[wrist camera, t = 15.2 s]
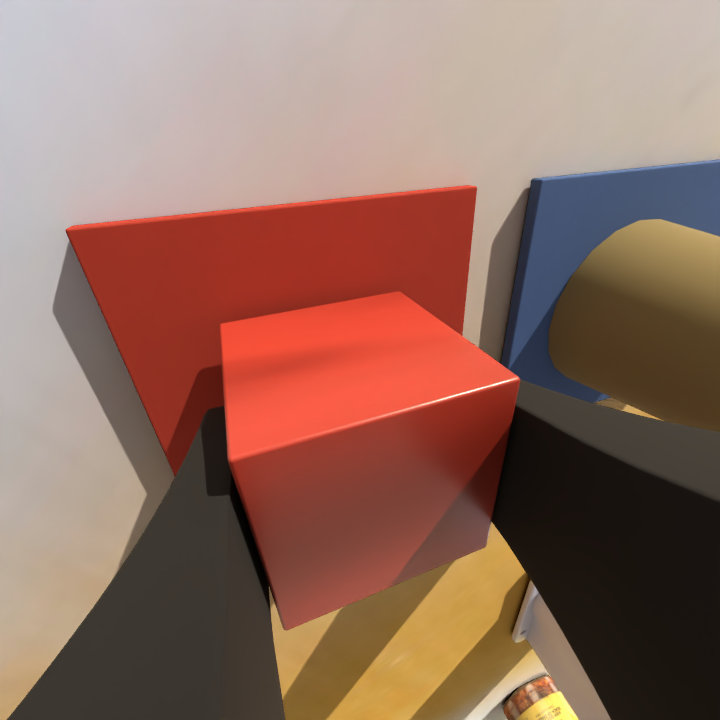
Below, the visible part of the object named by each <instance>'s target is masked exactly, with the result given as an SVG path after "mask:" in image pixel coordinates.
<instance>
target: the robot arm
mask: <svg viewBox="0 0 720 720" xmlns="http://www.w3.org/2000/svg"><path fill="white" fill-rule="evenodd" d="M491 521H492V523H493V524H494V525H495V527H496V528H497V529H498V531H499V532H500V534H501V535H502V536H503V538H504V539H505V540H506V542H507V543H508V545H509V546H510V548H511V550H512V551H513V553H514V554H515V556H516V557H517V559H518V560H519V562H520V564H521V565H522V567H523V568H524V570H525V571H526V573H527V575H528V576H529V578H530V579H531V580H530V583H529V586H528V589H527V592H526V595H525V598H524V601H523V604H522V607H521V610H520V613H519V616H518V619H517V622H516V625H515V628H514V631H513V634H512V639H513V641H514V642H515V643H519V642H521V641H523V640H525V639H527V641H528V642H529V644H530V645H531V647H532V649H533V650H534V652H535V653H536V655H537V656H538V658H539V659H540V661H541V662H542V664H543V665H544V667H545V668H546V670H547V671H548V673H549V674H550V676H551V678H552V679H553V681H554V682H555V684H556V685H557V687H558V688H559V690H560V691H561V693H562V694H563V696H564V697H565V699H566V700H567V702H568V704H569V705H570V707H571V708H572V710H573V711H574V713H575V714H576V716H577V717H578V719H579V720H720V432H716V431H711V430H706V429H701V428H696V427H691V426H686V425H681V424H675V423H670V422H666V421H661V420H657V419H652V418H648V417H644V416H640V415H636V414H632V413H628V412H624V411H620V410H616V409H612V408H609V407H605V406H601V405H598V404H594V403H591V402H587V401H584V400H581V399H577V398H574V397H571V396H568V395H565V394H562V393H559V392H556V391H552V390H549V389H547V388H544V387H541V386H538V385H535V384H532V383H529V382H527V381H524V380H521V379H520V384H519V389H518V394H517V399H516V404H515V409H514V413H513V418H512V423H511V428H510V433H509V438H508V443H507V447H506V452H505V457H504V462H503V467H502V472H501V477H500V481H499V486H498V491H497V496H496V501H495V506H494V510H493V515H492V520H491ZM7 720H285V713H284V707H283V701H282V694H281V688H280V681H279V675H278V668H277V662H276V655H275V649H274V642H273V632H272V623H271V612H270V597H269V584H268V581H267V578H266V575H265V572H264V569H263V566H262V563H261V560H260V557H259V554H258V551H257V548H256V545H255V542H254V539H253V536H252V533H251V530H250V527H249V524H248V520H247V517H246V514H245V511H244V508H243V505H242V502H241V499H240V496H239V493H238V490H237V487H236V484H235V481H234V478H233V475H232V472H231V469H230V466H229V463H228V457H227V441H226V425H225V410H224V406H220V407H215V408H211V409H208V410H207V412H206V413H205V414H204V416H203V419H202V421H201V424H200V426H199V428H198V431H197V433H196V435H195V438H194V440H193V442H192V444H191V446H190V448H189V451H188V453H187V455H186V457H185V459H184V461H183V463H182V465H181V467H180V468H179V470H178V472H177V474H176V476H175V478H174V480H173V482H172V484H171V486H170V488H169V490H168V491H167V493H166V495H165V497H164V498H163V500H162V502H161V504H160V505H159V507H158V509H157V510H156V512H155V514H154V515H153V517H152V519H151V521H150V522H149V524H148V526H147V527H146V529H145V531H144V532H143V534H142V536H141V537H140V539H139V541H138V542H137V544H136V545H135V547H134V548H133V550H132V551H131V553H130V555H129V556H128V558H127V559H126V561H125V562H124V564H123V565H122V567H121V568H120V570H119V571H118V573H117V574H116V576H115V577H114V578H113V580H112V581H111V583H110V584H109V586H108V587H107V589H106V590H105V591H104V593H103V594H102V596H101V597H100V599H99V600H98V602H97V603H96V604H95V606H94V607H93V609H92V610H91V611H90V613H89V614H88V615H87V617H86V618H85V619H84V621H83V622H82V623H81V625H80V626H79V627H78V629H77V630H76V631H75V633H74V634H73V635H72V637H71V638H70V639H69V641H68V642H67V643H66V645H65V646H64V647H63V649H62V650H61V651H60V653H59V654H58V655H57V657H56V658H55V659H54V661H53V662H52V663H51V665H50V666H49V667H48V669H47V670H46V671H45V672H44V674H43V675H42V676H41V678H40V679H39V680H38V681H37V683H36V684H35V685H34V687H33V688H32V689H31V690H30V692H29V693H28V694H27V695H26V697H25V698H24V699H23V700H22V702H21V703H20V704H19V705H18V707H17V708H16V709H15V710H14V712H13V713H12V714H11V715H10V716H9V718H8V719H7Z"/></svg>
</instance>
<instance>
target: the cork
mask: <svg viewBox="0 0 720 720" xmlns="http://www.w3.org/2000/svg"><path fill="white" fill-rule="evenodd" d="M548 352H549V354H550V357H551V360H552V362H553V365H554V367H555V368H556V369H557V370H558V371H559V372H561V373H562V374H563V375H564V376H566V377H567V378H570V379H572V380H574V381H576V382H579V383H581V384H583V385H585V386H588V387H590V388H592V389H594V390H596V391H599V392H601V393H603V394H605V395H608V396H610V397H612V398H614V399H617V400H619V401H621V402H623V403H626V404H628V405H630V406H632V407H635V408H637V409H639V410H641V411H643V412H646V413H648V414H650V415H652V416H655V417H657V418H659V419H661V420H664V421H666V422H670V423H675V424H681V425H686V426H691V427H696V428H701V429H706V430H711V431H716V432H720V237H719V236H716V235H713V234H709V233H706V232H703V231H699V230H696V229H693V228H689V227H686V226H683V225H679V224H676V223H672V222H669V221H666V220H662V219H650V220H639V221H637V222H635V223H632V224H630V225H628V226H626V227H624V228H622V229H619V230H617V231H616V232H614V233H613V234H612V235H611V236H609V237H608V238H607V239H606V240H604V241H603V242H602V243H601V244H600V245H598V246H597V247H596V248H595V249H593V250H592V251H591V253H590V254H589V255H588V256H587V258H586V259H585V260H584V261H583V262H582V264H581V265H580V266H579V267H578V269H577V270H576V271H575V272H574V273H573V275H572V276H571V278H570V280H569V281H568V283H567V285H566V287H565V289H564V291H563V293H562V294H561V296H560V298H559V300H558V302H557V304H556V307H555V310H554V314H553V317H552V321H551V324H550V327H549V349H548Z"/></svg>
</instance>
